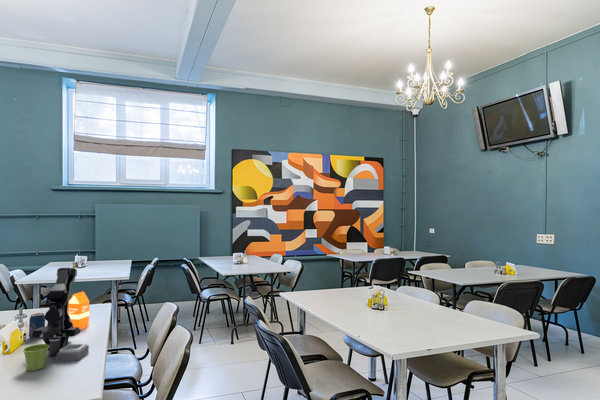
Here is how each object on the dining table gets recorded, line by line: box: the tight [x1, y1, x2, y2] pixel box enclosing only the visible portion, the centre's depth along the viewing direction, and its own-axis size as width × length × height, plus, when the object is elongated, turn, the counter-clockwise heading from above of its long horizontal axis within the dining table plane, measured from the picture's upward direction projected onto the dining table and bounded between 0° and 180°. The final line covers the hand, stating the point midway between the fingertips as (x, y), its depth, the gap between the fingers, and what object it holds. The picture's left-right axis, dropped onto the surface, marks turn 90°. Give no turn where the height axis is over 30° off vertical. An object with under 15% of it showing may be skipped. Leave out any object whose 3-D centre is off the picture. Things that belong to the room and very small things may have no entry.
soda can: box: [28, 312, 46, 340], centre depth 204 cm, size 7×7×12 cm
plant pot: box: [22, 343, 49, 372], centre depth 164 cm, size 9×9×9 cm
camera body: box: [55, 343, 90, 363], centre depth 177 cm, size 11×9×5 cm
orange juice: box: [68, 291, 90, 330], centre depth 223 cm, size 8×9×20 cm
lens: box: [48, 336, 62, 358], centre depth 179 cm, size 5×5×8 cm
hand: (55, 350), depth 179 cm, fingers closed on lens, 5 cm apart
